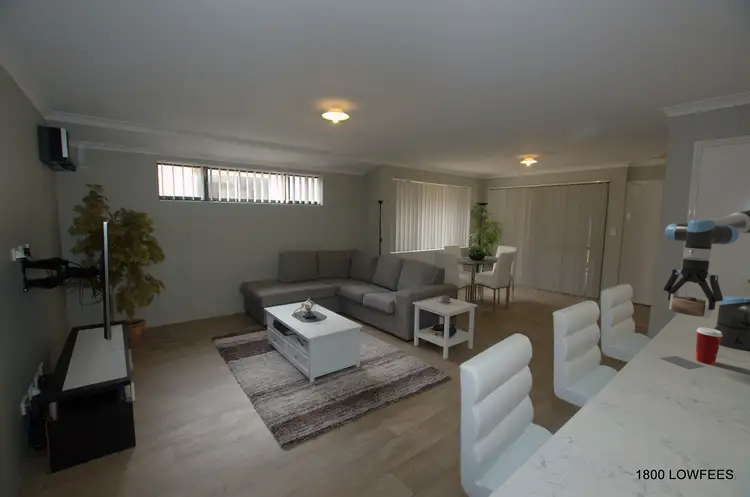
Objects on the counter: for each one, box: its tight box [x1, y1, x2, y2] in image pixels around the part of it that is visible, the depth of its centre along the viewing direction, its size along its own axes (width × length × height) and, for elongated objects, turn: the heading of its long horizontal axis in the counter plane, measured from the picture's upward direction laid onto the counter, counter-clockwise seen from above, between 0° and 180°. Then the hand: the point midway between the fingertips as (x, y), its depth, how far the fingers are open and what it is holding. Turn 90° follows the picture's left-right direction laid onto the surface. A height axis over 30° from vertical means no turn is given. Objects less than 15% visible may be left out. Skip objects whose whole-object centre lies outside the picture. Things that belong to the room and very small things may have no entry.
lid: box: [670, 296, 707, 318], centre depth 134 cm, size 11×11×6 cm
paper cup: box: [695, 326, 723, 365], centre depth 137 cm, size 8×8×14 cm
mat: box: [659, 355, 705, 370], centre depth 136 cm, size 10×10×1 cm
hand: (688, 313), depth 134 cm, fingers closed on lid, 11 cm apart
